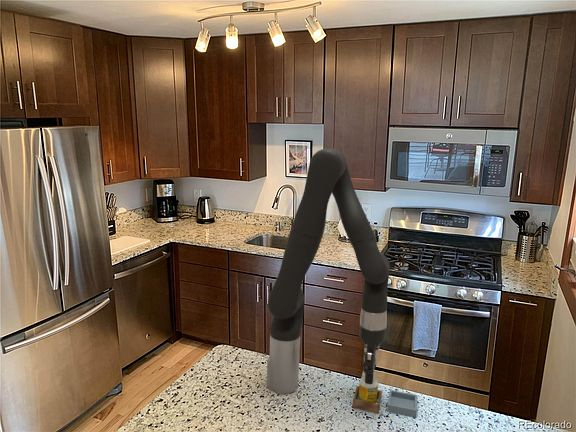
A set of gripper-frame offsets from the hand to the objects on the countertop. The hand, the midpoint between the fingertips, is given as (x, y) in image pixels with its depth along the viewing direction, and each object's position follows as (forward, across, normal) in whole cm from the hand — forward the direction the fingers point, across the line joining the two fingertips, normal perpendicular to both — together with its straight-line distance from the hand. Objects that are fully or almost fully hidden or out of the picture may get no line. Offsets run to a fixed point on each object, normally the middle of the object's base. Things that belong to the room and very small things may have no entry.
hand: (370, 375), depth 128 cm
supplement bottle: (+9, 0, -1) cm, 9 cm away
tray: (+9, -2, +9) cm, 13 cm away
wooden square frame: (+9, 0, 0) cm, 9 cm away
